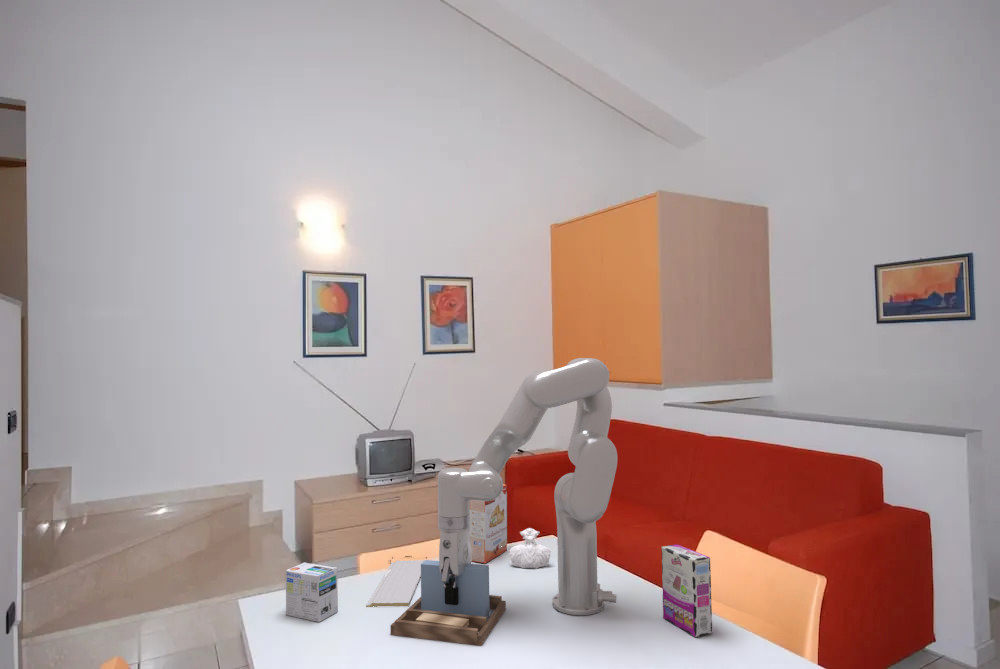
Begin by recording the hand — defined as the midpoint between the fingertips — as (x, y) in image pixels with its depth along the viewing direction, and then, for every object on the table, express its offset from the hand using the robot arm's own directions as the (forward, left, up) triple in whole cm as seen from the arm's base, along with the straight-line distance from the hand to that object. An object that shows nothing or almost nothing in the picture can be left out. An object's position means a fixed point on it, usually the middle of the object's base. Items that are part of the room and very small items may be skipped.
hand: (455, 599), depth 141 cm
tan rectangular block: (0, +9, -4) cm, 10 cm away
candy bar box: (-52, -8, -4) cm, 53 cm away
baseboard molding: (+23, -16, -5) cm, 28 cm away
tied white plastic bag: (-9, -38, -4) cm, 39 cm away
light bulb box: (+34, +7, -4) cm, 35 cm away
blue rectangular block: (0, 0, -4) cm, 4 cm away
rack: (0, +2, -4) cm, 4 cm away
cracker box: (+5, -43, -4) cm, 43 cm away
